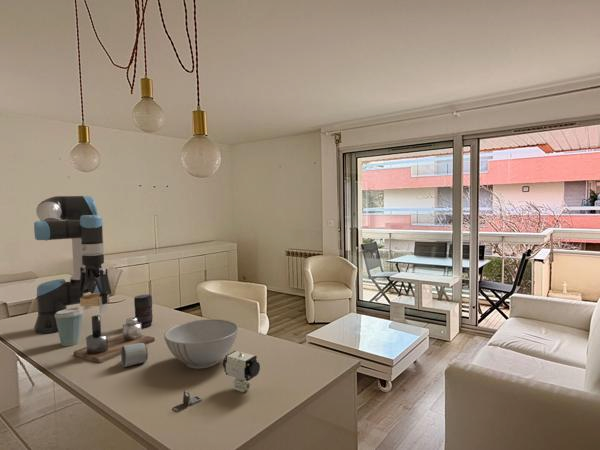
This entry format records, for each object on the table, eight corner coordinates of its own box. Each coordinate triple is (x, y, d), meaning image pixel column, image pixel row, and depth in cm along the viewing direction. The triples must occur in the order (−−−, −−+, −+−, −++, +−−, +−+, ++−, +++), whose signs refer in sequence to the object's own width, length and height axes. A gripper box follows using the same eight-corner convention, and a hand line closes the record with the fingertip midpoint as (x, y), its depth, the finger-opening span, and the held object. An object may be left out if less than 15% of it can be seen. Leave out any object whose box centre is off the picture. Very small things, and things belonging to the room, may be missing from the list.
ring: (76, 304, 144) (75, 295, 144) (99, 299, 152) (98, 290, 152) (91, 307, 140) (90, 298, 139) (113, 301, 148) (113, 292, 148)
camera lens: (156, 323, 185) (154, 294, 184) (147, 328, 177) (146, 298, 176) (140, 323, 186) (139, 294, 185) (132, 328, 178) (130, 298, 177)
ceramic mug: (149, 363, 137) (148, 343, 137) (125, 370, 132) (124, 349, 132) (141, 355, 146) (140, 336, 145) (118, 361, 140) (117, 341, 140)
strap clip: (197, 398, 113) (196, 384, 112) (202, 401, 111) (202, 387, 110) (171, 409, 106) (170, 395, 106) (176, 413, 104) (175, 398, 104)
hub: (119, 339, 159) (118, 320, 159) (134, 334, 166) (133, 315, 165) (130, 342, 156) (129, 322, 155) (145, 336, 162) (144, 317, 162)
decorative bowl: (159, 382, 123) (157, 346, 122) (171, 351, 149) (170, 321, 148) (240, 373, 128) (239, 339, 127) (238, 345, 154) (237, 316, 154)
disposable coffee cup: (52, 349, 153) (50, 314, 152) (58, 341, 163) (57, 307, 162) (82, 345, 157) (80, 311, 156) (86, 337, 167) (84, 304, 166)
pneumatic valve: (232, 381, 122) (231, 346, 121) (261, 390, 116) (260, 353, 115) (221, 389, 117) (220, 352, 117) (249, 398, 111) (248, 359, 110)
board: (73, 355, 147) (73, 351, 147) (128, 335, 169) (128, 331, 169) (100, 363, 139) (100, 359, 139) (154, 340, 161) (154, 337, 161)
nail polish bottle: (82, 352, 145) (81, 317, 145) (100, 346, 152) (99, 312, 151) (94, 356, 142) (92, 320, 141) (112, 349, 148) (110, 315, 148)
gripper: (66, 254, 147) (69, 309, 148) (101, 257, 136) (104, 316, 138) (85, 251, 153) (87, 304, 155) (119, 254, 143) (122, 311, 144)
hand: (95, 310), depth 146 cm, fingers closed on ring, 9 cm apart
